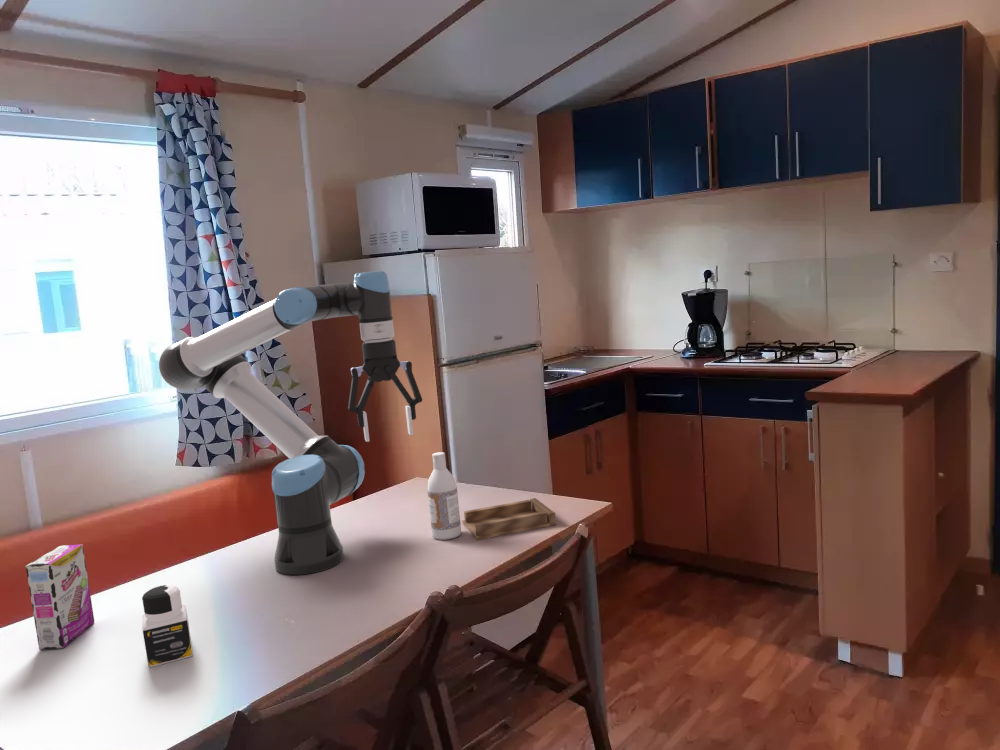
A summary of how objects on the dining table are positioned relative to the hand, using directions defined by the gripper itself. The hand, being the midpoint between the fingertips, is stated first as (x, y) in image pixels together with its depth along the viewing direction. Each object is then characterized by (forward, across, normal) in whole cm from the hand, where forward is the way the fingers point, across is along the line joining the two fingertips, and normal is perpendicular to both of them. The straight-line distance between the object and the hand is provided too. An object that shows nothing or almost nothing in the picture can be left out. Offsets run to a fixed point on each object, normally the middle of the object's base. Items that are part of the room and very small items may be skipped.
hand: (389, 437), depth 183 cm
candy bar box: (+26, -67, -17) cm, 74 cm away
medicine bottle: (+26, -47, -35) cm, 64 cm away
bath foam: (+26, +11, 0) cm, 28 cm away
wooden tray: (+25, +26, 0) cm, 36 cm away
